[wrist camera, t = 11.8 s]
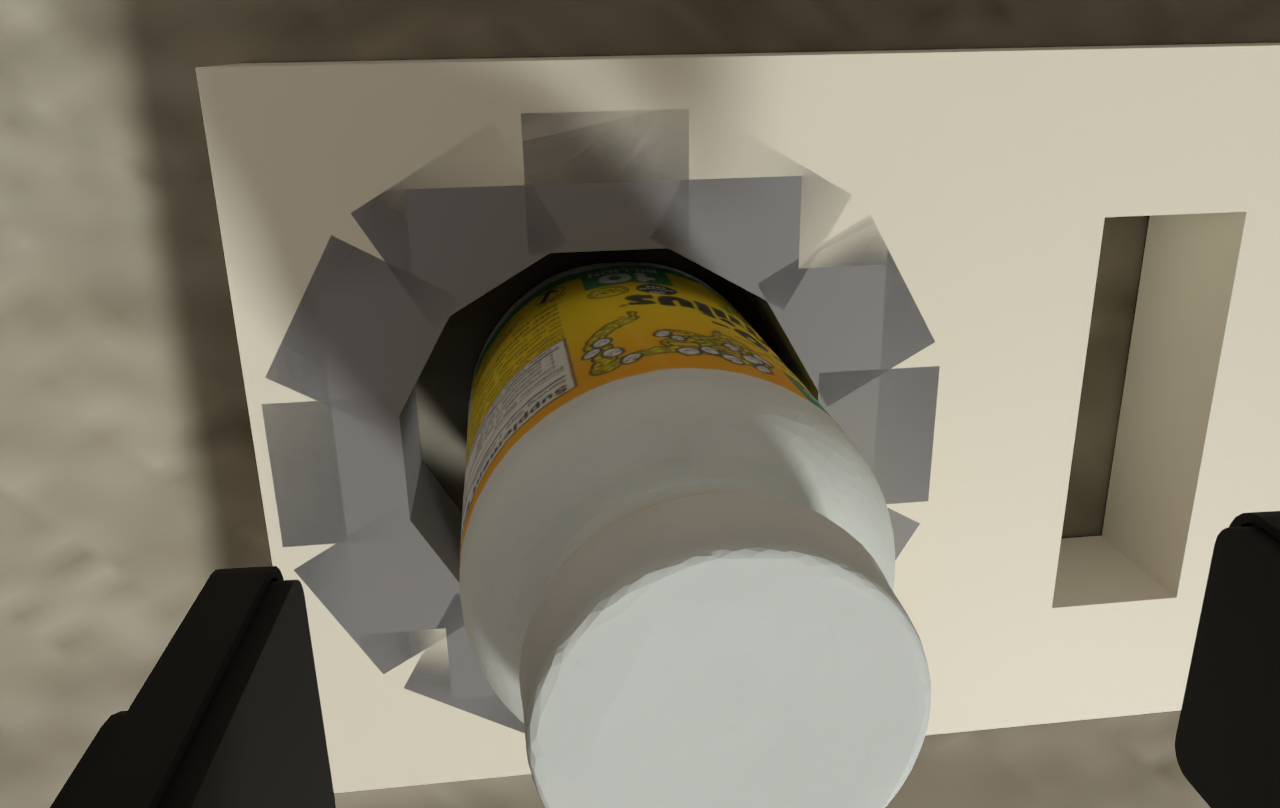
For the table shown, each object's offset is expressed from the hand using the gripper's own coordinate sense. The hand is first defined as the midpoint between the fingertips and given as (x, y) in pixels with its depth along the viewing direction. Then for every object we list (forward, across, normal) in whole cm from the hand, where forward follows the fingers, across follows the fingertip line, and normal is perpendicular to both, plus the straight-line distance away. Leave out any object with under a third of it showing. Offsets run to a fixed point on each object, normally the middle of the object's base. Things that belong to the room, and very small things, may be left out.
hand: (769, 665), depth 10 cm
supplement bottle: (+9, +1, 0) cm, 9 cm away
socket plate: (+9, -3, 0) cm, 9 cm away
